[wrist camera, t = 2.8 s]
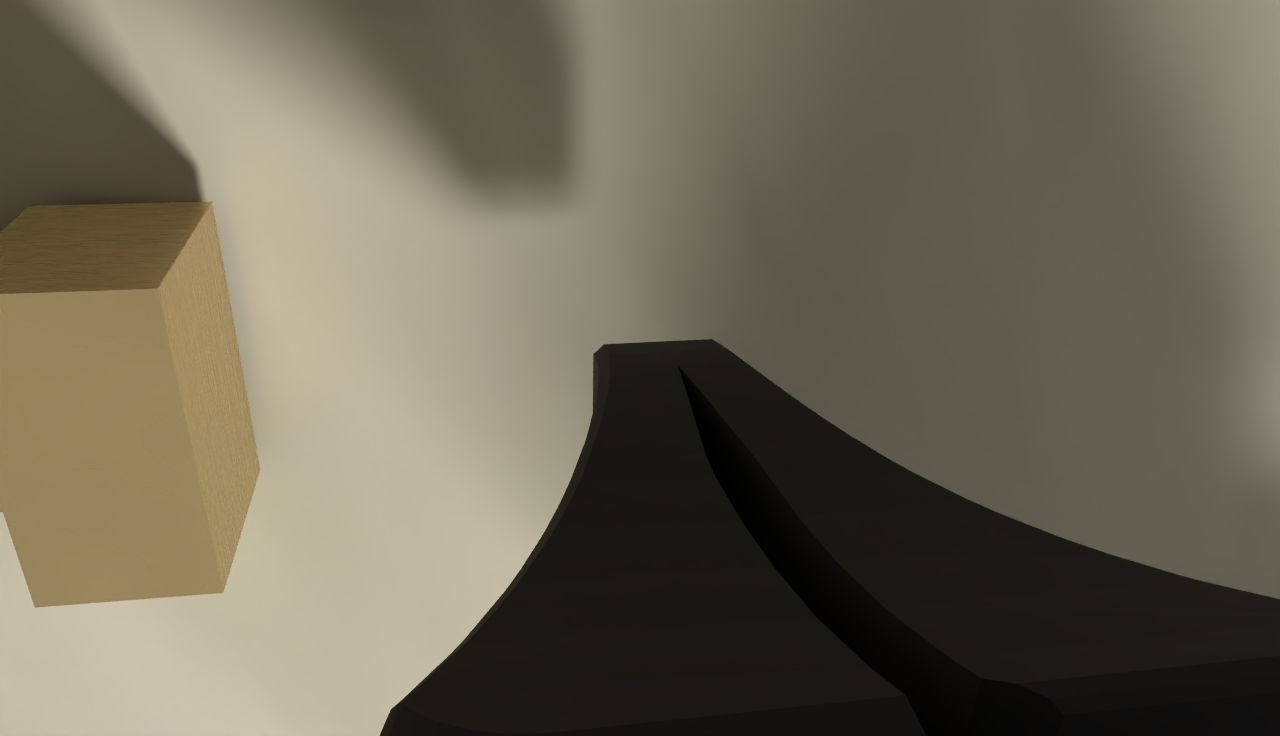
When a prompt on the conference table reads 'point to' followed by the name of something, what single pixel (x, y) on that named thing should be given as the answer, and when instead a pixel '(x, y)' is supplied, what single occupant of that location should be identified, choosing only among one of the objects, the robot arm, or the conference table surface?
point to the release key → (121, 403)
